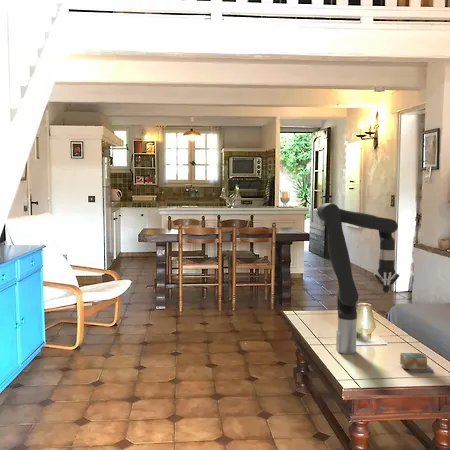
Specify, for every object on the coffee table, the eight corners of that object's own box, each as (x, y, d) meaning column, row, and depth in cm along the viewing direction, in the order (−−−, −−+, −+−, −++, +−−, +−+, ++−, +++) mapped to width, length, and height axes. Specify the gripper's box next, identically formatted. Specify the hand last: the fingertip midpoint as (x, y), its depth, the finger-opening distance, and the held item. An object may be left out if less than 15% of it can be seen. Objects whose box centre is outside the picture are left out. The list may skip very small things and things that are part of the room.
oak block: (404, 357, 230) (427, 357, 230) (400, 352, 236) (422, 352, 236) (404, 368, 231) (426, 368, 231) (400, 363, 237) (421, 363, 236)
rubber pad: (410, 372, 229) (411, 370, 229) (403, 364, 239) (403, 362, 239) (433, 372, 229) (433, 370, 228) (425, 364, 238) (425, 362, 238)
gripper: (375, 259, 253) (374, 293, 254) (402, 259, 252) (401, 294, 254) (371, 257, 260) (370, 290, 262) (397, 257, 260) (396, 290, 261)
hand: (385, 292), depth 258 cm, fingers closed
